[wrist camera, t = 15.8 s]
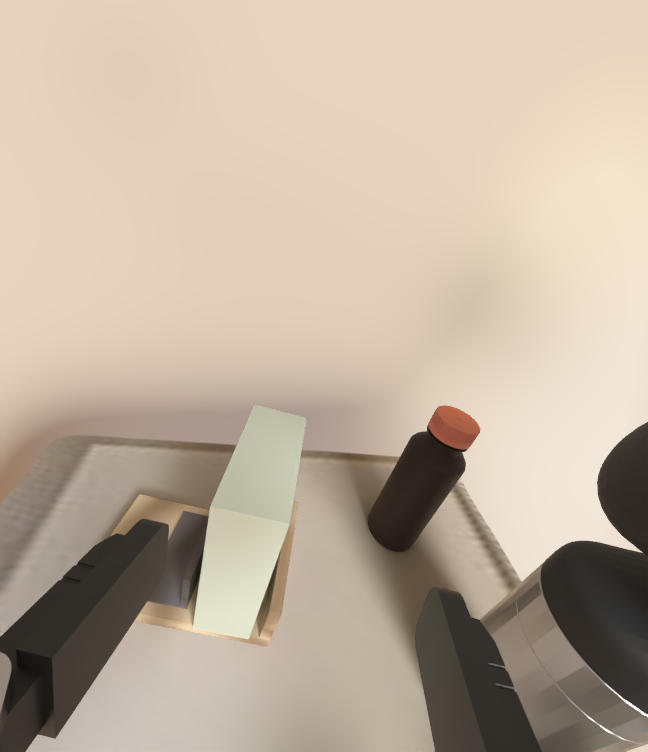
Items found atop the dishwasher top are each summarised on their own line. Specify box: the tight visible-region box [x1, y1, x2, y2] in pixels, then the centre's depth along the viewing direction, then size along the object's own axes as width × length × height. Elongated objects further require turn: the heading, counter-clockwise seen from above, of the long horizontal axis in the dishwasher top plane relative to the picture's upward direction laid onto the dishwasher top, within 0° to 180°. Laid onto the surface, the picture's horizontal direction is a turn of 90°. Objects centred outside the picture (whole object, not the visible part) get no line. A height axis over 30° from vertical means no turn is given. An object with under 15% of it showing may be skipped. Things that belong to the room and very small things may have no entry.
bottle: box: [368, 406, 480, 551], centre depth 38 cm, size 7×7×20 cm
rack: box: [110, 494, 298, 646], centre depth 31 cm, size 18×11×6 cm, turn 86°
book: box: [193, 405, 307, 639], centre depth 28 cm, size 5×11×17 cm, turn 177°
